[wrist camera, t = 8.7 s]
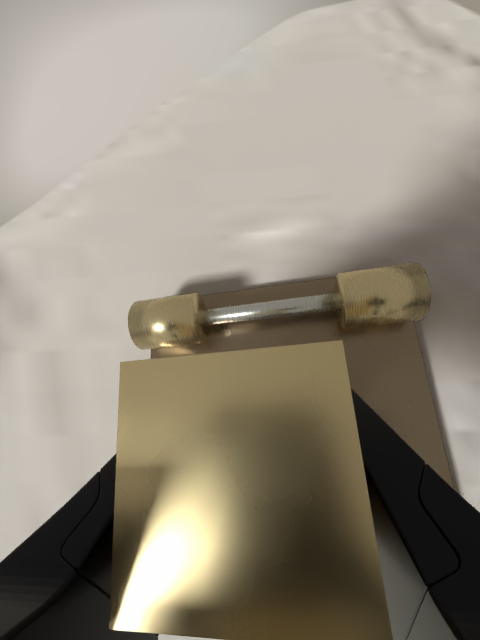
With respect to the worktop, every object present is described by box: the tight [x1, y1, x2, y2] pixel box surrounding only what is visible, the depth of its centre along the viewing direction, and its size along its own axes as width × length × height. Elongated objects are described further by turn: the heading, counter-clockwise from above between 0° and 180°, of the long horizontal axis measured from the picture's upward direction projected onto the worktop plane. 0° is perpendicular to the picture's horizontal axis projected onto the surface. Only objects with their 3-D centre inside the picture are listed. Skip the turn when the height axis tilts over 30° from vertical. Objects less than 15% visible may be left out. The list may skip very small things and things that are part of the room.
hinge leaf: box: [128, 263, 454, 489], centre depth 16 cm, size 15×17×4 cm
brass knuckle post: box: [109, 340, 393, 640], centre depth 9 cm, size 4×4×11 cm
